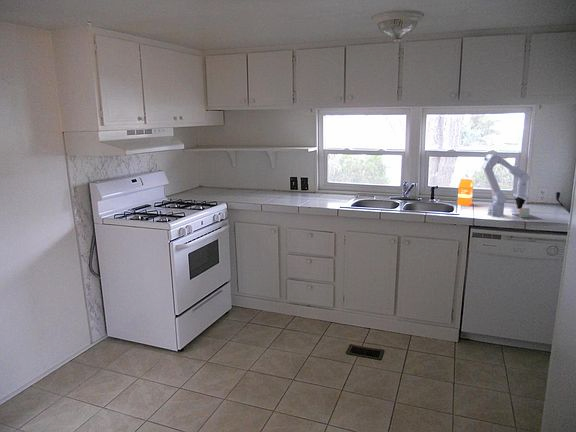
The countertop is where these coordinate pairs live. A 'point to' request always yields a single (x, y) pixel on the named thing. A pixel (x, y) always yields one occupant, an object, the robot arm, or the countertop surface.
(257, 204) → the countertop surface
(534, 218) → the mat
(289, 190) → the countertop surface
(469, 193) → the orange juice
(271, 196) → the countertop surface
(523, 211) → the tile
